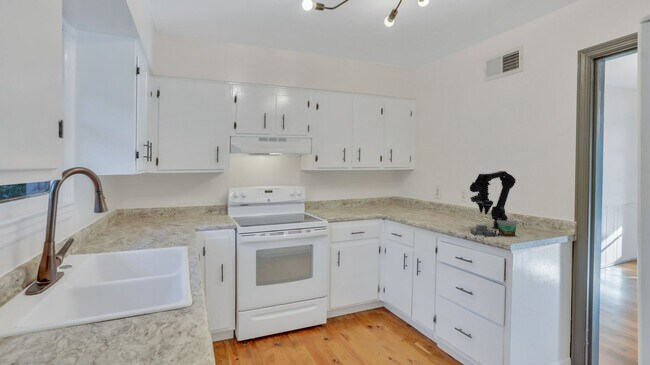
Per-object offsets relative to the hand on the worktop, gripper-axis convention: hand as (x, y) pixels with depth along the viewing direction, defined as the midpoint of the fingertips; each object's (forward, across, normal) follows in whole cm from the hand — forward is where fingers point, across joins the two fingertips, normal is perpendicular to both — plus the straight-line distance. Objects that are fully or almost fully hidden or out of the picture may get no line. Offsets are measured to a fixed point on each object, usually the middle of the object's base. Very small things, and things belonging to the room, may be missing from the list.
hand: (483, 213), depth 222 cm
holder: (+12, +13, -6) cm, 19 cm away
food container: (+12, +18, +9) cm, 23 cm away
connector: (+12, +13, -6) cm, 19 cm away
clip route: (+12, +17, -2) cm, 21 cm away
